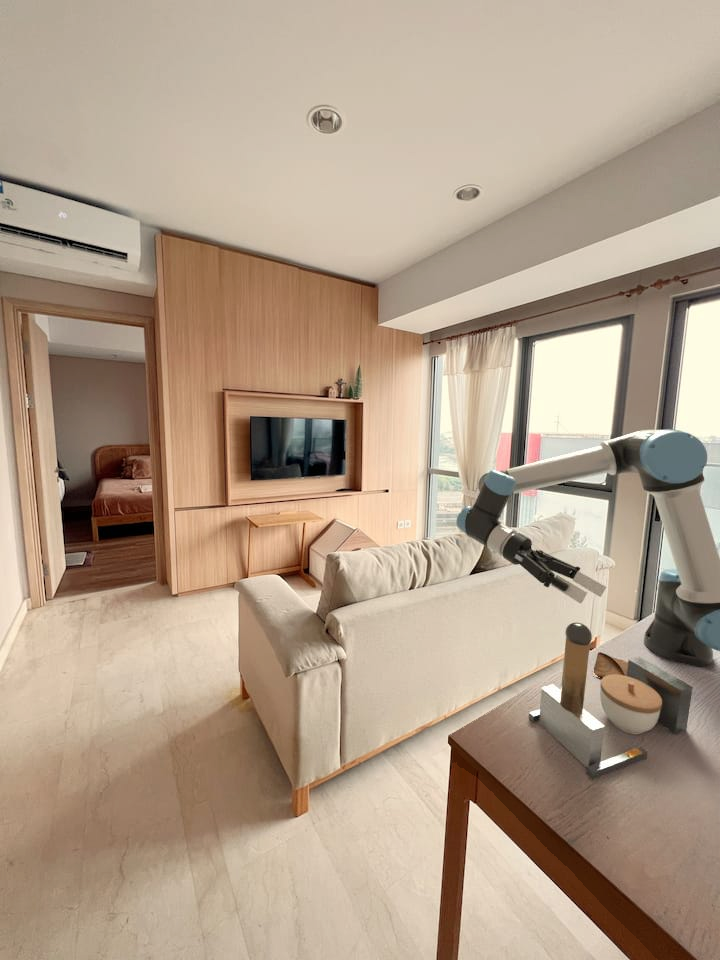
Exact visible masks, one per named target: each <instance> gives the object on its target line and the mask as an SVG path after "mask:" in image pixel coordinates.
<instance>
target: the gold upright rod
mask: <svg viewBox="0 0 720 960" xmlns="http://www.w3.org/2000/svg"><path fill="white" fill-rule="evenodd" d="M564 635H565V645H564V655H563V657H564V658H563V667H562V676H561V685H560V686H561V688H560V689H559V688H558V687H557V686H555V685H554V684H550V685H548V686H543V687H541V691H540V704H539V710H540V713H539V721H538V723H539V724H540V726H542V727H543V728H545V730H546V731H548V733H550V734H551V735H552V736H553V737H554V738H555V739H556V740H557V741H558V742H559V743H560V744H561V745H563V746H564V747H565V749H566V750H568V751H569V752H570V753H571V754H572V755H573V756H574V757H575V758H576V759H577V760H578V761H579V762H580V763H581V764H582V765H583V766H584V767H586V768H587V767H588V766H591V765H594V764H596V763H599V762H602V760H601V759H602V752H603V744H604V735H605V725H604V724H603V723H602V722H601V721H599V720H598V719H597V718H595V717H594V716H593V715H591V714H590V713H589V712H588V711H587V710H585V709H584V704H585V703H584V701H585V692H586V685H587V684H586V683H587V674H588V673H587V672H588V665H589V656H590V645H591V642H592V638H593V635H592V632H591V630H590V628H589V627H588V626H587V625H585V623H582V622H581V623H580V622H577V621H576V622H571V623H570V624H568V625H567V626H566V628H565V634H564Z"/></svg>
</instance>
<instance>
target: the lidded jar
mask: <svg viewBox="0 0 720 960" xmlns="http://www.w3.org/2000/svg"><path fill="white" fill-rule="evenodd" d="M599 692H600V693H599V694H600V697H599V698H600V703H601V707H602V710H603V711H604V714H605V715H606V716H607V717H608V719H609V720H610V722H611V724H613V726H615V727H616V728H617V729H619V730H620V731H622V732H624V733H628V734H631V735H641V734H643V733H646V732H649V731H650V730H652V729H653V728H654V727H655V726H656V725H657V721H658V719H659V715H660V711H661V707H662V699H661V697H660V695H659V694H658V693H657V692H656V691H655V690H654V689H653V688H651V687H650V686H648V685H647V684H645V683H643V682H641V681H639V680H637V679H634V678H631V677H628V676H623V675H607V676H605V677H603V678H602V679H600V691H599Z"/></svg>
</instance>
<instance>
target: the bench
mask: <svg viewBox="0 0 720 960" xmlns="http://www.w3.org/2000/svg"><path fill="white" fill-rule="evenodd" d="M627 661H628V668H627V676H628V677H631V678H634V679H637V680H639V681H641V682H643V683H645V684H647V685H648V686H650V687H651V688H653V689H654V690H655V691H656V692H657V693H658V694H659V695H660V697H661V699H662V707H661V711H660V715H659V719H658V721H657V723H658V724H659V725H660V726H661V727H663V728H664V729H666V730H668V731H669V732H671V734H673V735H678V734H681V733H684V732H687V730H688V729H687V727H688V721H689V714H690V708H691V703H692V702H691V701H692V697H693V696H692V694H693V690H694V689H693V688H694V687H693V686H692V685H691V684H688V683H687V682H685V681H684V680H682V679H680V678H678V677H676V676H675V675H673V674H671V673H669V672H667V671H665V670H664V669H662V668H660V667H658V666H657V665H656V664H653V663H651V662H650V661H648V660H646V659H644V658H642V657H641V656H637V657H633V658H630V659H628V660H627ZM539 713H540V709H537V710H533V711H529V714H528V719H529V721H530V722H532V723H537V722H539ZM657 723H656V724H657ZM648 753H649V751H648V750H647V749H645V748H644V747H642V746H639V747H637V748H636V747H635V748H633V749H630V750H627V751H625V752H623V753H620V754H619V755H616V756H612V757H610V758H607V759H605V760H601V762H599V763H596V764H594V765H591V766H588V767H586V775H587V776H588V778H590V779H591V780H592V781H594V780H596V779H599V778H601V777H603V776H606V775H609V774H611V773H614V772H616V771H618V770H621V769H623V768H626V767H629V766H632V765H634V764H636V763H639V762H641V761H644V760H647V758H648Z"/></svg>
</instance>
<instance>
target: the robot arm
mask: <svg viewBox="0 0 720 960" xmlns="http://www.w3.org/2000/svg"><path fill="white" fill-rule="evenodd" d="M707 462H708V451H707V449H706V446H705V445H704V443H703V442H702V441H701V440H700V439H699V438H698V437H696V436H695V435H693V434H690V433H689V432H685V431H682V430H677V429H669V428H667V429H651V428H650V429H643V430H637V431H634V432H631V433H628V434H625V435H622V436H618V437H615V438H613V439H608V440H604V441H602V442H600V445H599V446H596V447H592V448H588V449H584V450H580V451H575V452H572V453H568V454H564V455H560V456H556V457H552V458H548V459H543V460H540V461H539V460H538V461H535V462H532V463H528V464H523V465H520V466H514V467H511V468H508V469H503V470H500V471H499V470H495V469H491V470H489V472H485V473H484V474H483V475H481V477H480V478H479V479H478V480H479V481H478V486H477V488H478V491H479V492H478V495H477V497H476V499H475V502H474V504H473V505H467V506H465V507H463V508H462V509H461V512H459V513H458V515H457V517H456V521H455V522H456V526H457V528H458V529H459V530H460V531H462V532H463V533H464V534H465V535H466V536H467V537H469V538H472V539H473V540H475V541H476V542H478V543H479V544H482V545H483V546H485V548H486V547H487V548H488V549H489V550H491V553H492V555H493V554H494V555H495V554H497V555H499V556H502V557H503V559H505V560H506V561H508V562H509V563H511V564H513V565H516V566H518V565H520V566H521V567H522V568H523V569H525V570H526V571H527V572H528V573H529V574H530V575H531V576H532V577H534V578H535V579H536V580H537V581H538V582H539V583H541V584H543V586H544V587H546V588H549V587H550V586H552V587H553V588H555V589H557V590H558V591H560V592H561V593H563V594H564V595H565V596H568V597H569V598H571V599H572V600H574V601H576V602H577V603H579V604H583V602H584V600H585V598H586V596H587V594H588V591H589V592H591V593H593V594H595V595H596V596H597V597H599V598H601V597H602V595H603V593H604V592H605V591H606V588H607V586H606V585H604V584H602V583H601V582H599V581H597V580H596V579H594V578H592V577H590V576H589V575H587V574H585V573H584V572H582V571H581V567H580V566H575V565H572V564H570V563H567V562H565V561H563V560H561V559H560V558H557V557H555V556H552V555H551V554H549V553H547V552H544V550H541V549H539V550H538V549H536V550H534V549H532V546H533V545H532V544H533V541H532V540H531V538H529V537H527V536H525V535H524V534H522V533H520V532H517V530H515V529H514V528H512V527H510V526H508V525H506V524H504V523H502V522H501V521H499V520H500V518H501V516H502V514H503V511H504V509H505V507H506V505H507V503H508V502H509V499H510V498H511V496H512V495H515V494H519V493H520V494H521V493H524V492H528V491H532V490H536V489H541V488H542V489H543V488H546V487H550V486H554V485H559V484H563V483H567V482H572V481H576V480H580V479H585V478H589V477H594V476H598V475H602V474H603V475H604V474H609V475H610V476H616V475H619V474H628V473H632V474H633V473H634V474H635V473H636V474H638V475H639V478H640V481H641V484H642V487H643V491H644V492H645V493H647V494H650V495H652V496H653V499H654V501H655V505H656V508H657V511H658V514H659V518H660V521H661V524H662V526H663V531H664V533H665V537H666V539H667V543H668V546H669V549H670V553H671V556H672V559H673V561H674V566H675V569H674V568H673V569H670V568H669V569H664V570H662V571H661V572H660V575H659V579H658V580H657V581H658V587H657V593H656V594H657V595H656V603H655V604H656V605H655V612H654V618H653V620H652V621H651V623H650V624H649V626H648V627H647V629H646V630H645V632H644V636H643V643H644V646H646V648H648V649H649V650H650V651H651V652H653V653H655V654H656V655H658V656H661V658H664V659H667V660H669V661H671V662H672V661H673V662H675V663H678V664H682V665H686V666H691V667H692V666H693V667H707V666H710V665H711V664H712V663H713V659H714V658H713V657H714V651H713V650H715V651H719V652H720V555H719V551H718V548H717V545H716V542H715V538H714V536H713V535H714V534H713V532H712V528H711V526H710V522H709V518H708V516H707V512H706V509H705V507H704V506H705V505H704V503H703V499H702V495H701V493H700V489H699V488H700V486H702V484H703V483H704V482H705V481H706V480H705V475H704V473H703V470H704V469H705V467H706V466H707ZM554 572H555V573H554ZM561 575H562V576H561ZM563 576H564V577H566V578H570V579H571V580H572V581H573V582H574V583H573V582H572V581H570V580H568V579H566V578H564V577H563ZM578 585H579V586H578ZM580 586H581V587H583V588H584V589H585V590H584V589H583V588H581V587H580ZM586 590H587V591H586Z"/></svg>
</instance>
